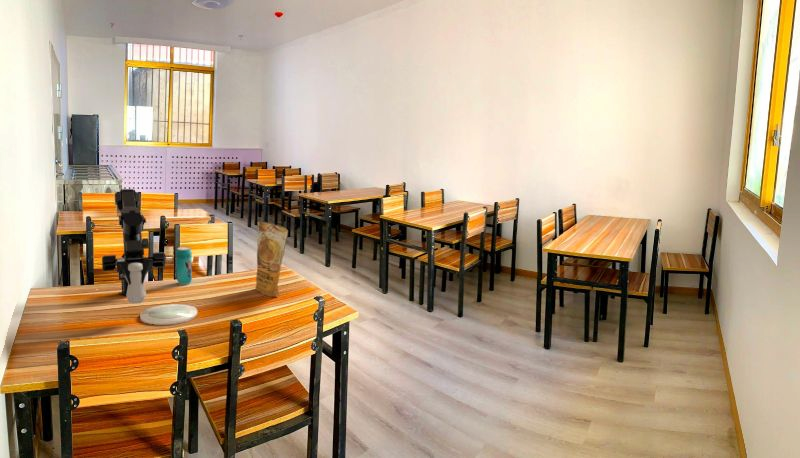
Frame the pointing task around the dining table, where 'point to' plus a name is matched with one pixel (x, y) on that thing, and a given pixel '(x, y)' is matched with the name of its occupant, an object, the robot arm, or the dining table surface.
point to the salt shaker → (135, 284)
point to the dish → (168, 314)
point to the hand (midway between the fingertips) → (136, 283)
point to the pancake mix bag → (269, 257)
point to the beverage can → (184, 265)
